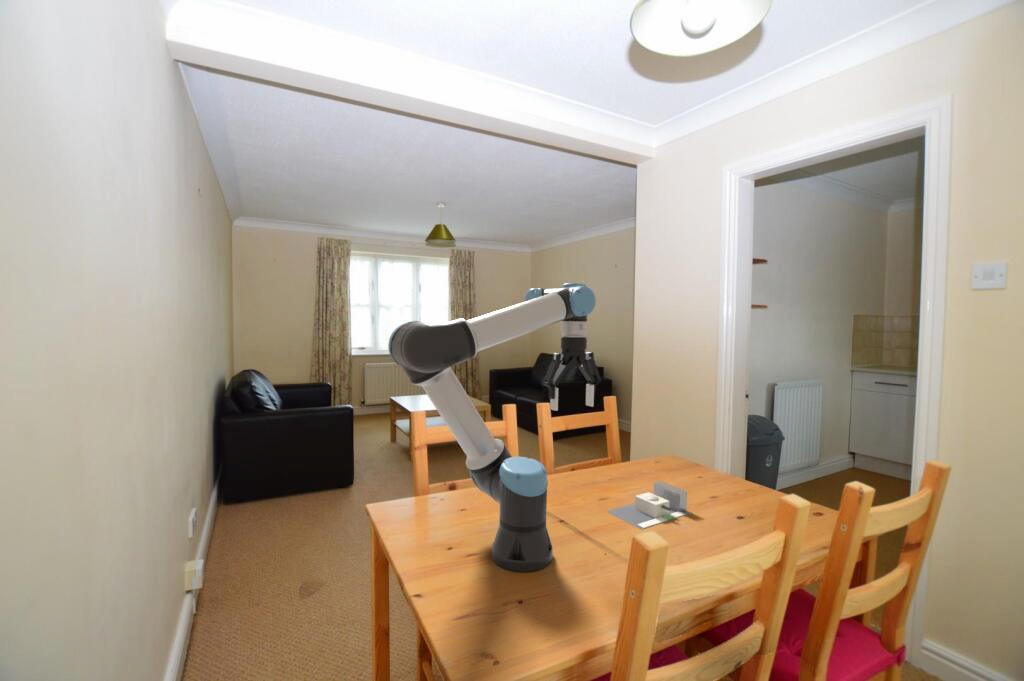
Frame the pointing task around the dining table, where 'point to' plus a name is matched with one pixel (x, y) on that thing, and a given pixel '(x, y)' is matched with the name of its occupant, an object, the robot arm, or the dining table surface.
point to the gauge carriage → (652, 505)
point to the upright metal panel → (672, 496)
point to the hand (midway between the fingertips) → (572, 407)
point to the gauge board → (643, 516)
